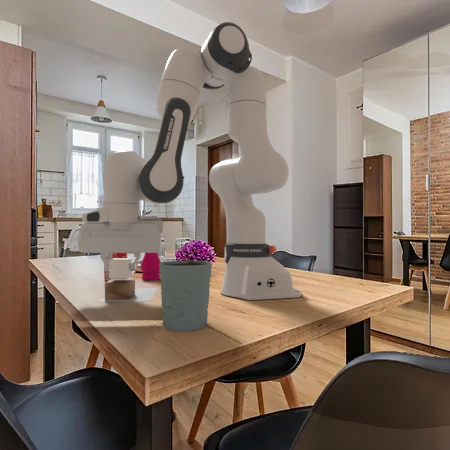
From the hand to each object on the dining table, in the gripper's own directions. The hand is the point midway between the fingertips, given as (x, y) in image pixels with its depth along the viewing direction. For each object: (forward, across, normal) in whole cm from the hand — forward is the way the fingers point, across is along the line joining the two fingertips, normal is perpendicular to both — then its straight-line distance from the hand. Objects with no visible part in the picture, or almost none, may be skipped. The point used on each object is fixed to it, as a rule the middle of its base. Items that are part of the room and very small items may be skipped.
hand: (120, 270), depth 82 cm
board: (+8, -2, -3) cm, 8 cm away
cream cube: (+2, 0, 0) cm, 2 cm away
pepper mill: (+8, -3, -33) cm, 34 cm away
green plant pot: (+8, -17, +20) cm, 27 cm away
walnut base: (+7, 0, 0) cm, 7 cm away
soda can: (+8, +7, -24) cm, 26 cm away
